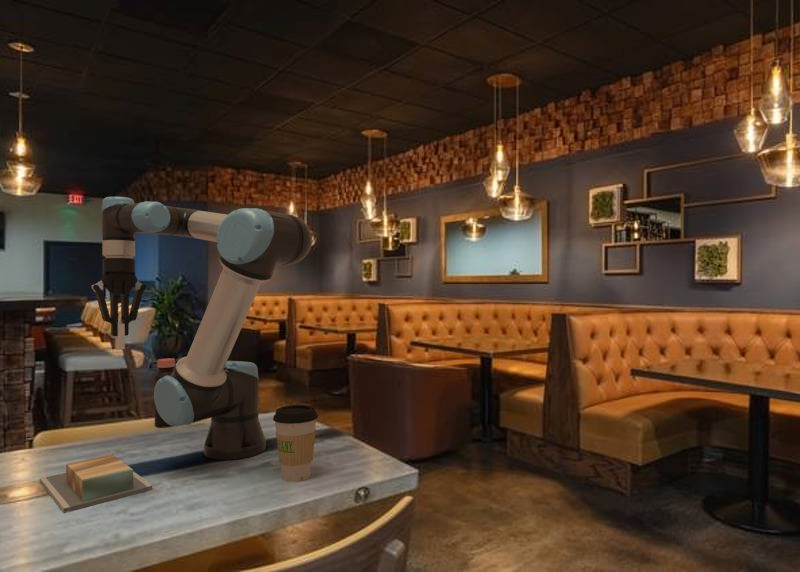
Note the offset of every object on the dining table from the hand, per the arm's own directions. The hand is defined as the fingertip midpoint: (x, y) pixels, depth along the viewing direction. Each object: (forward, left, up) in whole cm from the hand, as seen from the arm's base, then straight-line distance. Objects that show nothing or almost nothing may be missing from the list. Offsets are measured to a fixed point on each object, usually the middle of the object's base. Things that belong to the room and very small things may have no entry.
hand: (120, 348), depth 138 cm
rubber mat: (-8, +24, -26) cm, 37 cm away
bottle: (0, -25, -27) cm, 37 cm away
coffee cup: (-50, +18, -27) cm, 59 cm away
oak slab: (-5, +21, -24) cm, 32 cm away
